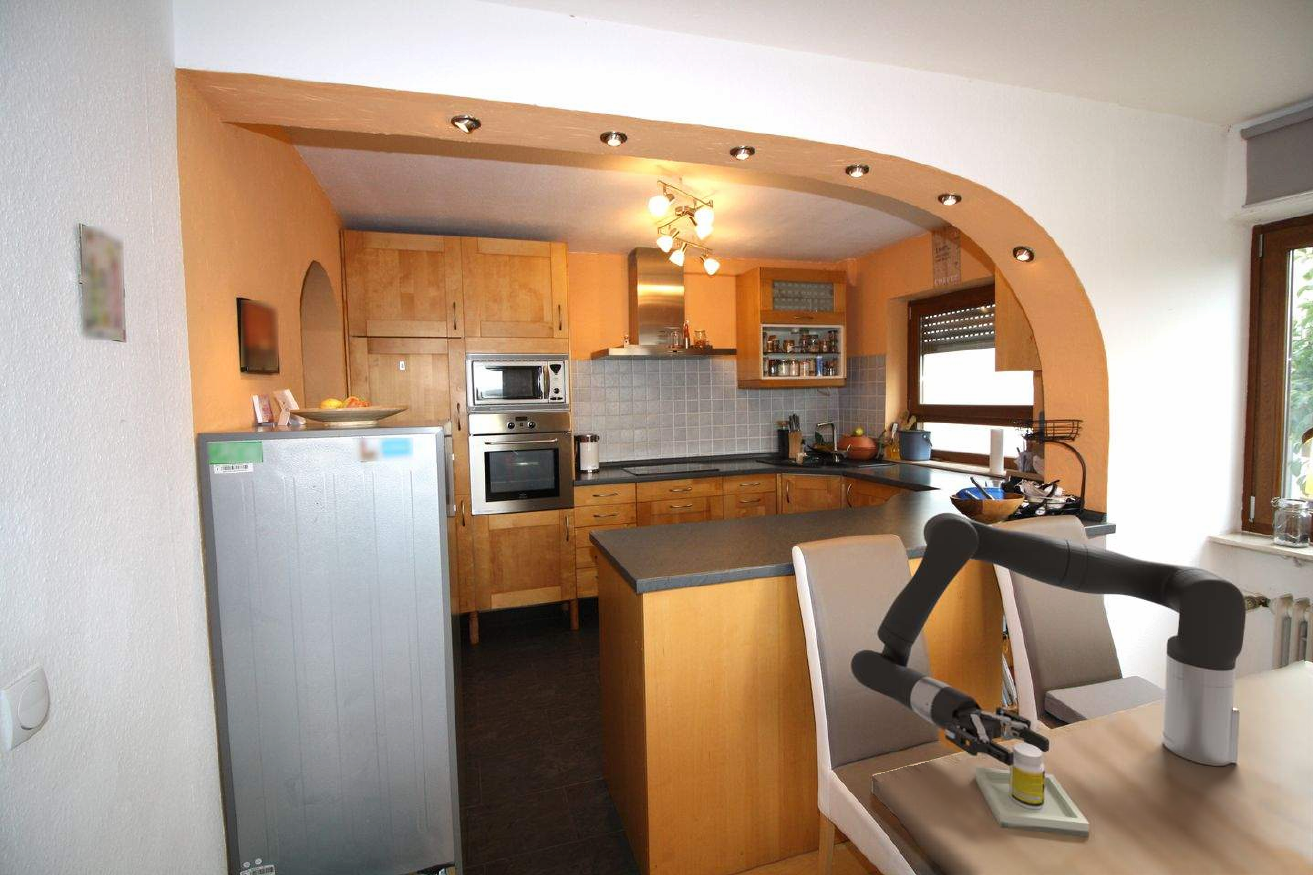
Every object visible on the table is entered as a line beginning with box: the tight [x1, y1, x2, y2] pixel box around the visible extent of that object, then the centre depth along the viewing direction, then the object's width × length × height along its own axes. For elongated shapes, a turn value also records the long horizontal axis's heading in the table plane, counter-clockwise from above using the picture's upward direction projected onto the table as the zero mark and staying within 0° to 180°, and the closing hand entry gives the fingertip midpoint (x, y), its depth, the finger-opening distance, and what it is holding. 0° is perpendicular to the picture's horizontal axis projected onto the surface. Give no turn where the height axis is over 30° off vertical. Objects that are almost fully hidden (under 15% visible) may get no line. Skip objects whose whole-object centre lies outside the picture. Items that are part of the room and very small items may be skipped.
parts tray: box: [974, 766, 1090, 838], centre depth 96 cm, size 12×12×2 cm
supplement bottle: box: [1009, 742, 1046, 809], centre depth 96 cm, size 5×5×8 cm
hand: (1030, 752), depth 95 cm, fingers open, 8 cm apart
